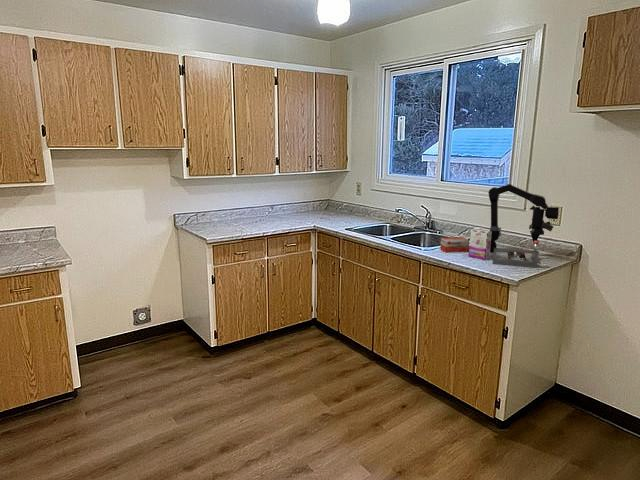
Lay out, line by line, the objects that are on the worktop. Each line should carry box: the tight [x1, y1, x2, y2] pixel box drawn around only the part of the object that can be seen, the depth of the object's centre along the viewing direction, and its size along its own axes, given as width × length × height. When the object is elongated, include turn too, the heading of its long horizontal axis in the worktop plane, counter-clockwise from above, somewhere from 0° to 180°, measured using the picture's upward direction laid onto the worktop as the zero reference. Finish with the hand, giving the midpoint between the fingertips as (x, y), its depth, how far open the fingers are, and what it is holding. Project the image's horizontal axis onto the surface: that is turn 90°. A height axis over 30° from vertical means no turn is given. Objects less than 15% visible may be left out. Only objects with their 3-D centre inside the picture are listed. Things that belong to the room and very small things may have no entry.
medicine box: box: [439, 236, 470, 254], centre depth 263 cm, size 15×8×8 cm, turn 98°
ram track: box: [529, 255, 541, 264], centre depth 243 cm, size 4×14×1 cm, turn 159°
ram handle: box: [530, 239, 540, 258], centre depth 244 cm, size 3×3×10 cm
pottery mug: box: [506, 247, 527, 261], centre depth 242 cm, size 12×10×8 cm
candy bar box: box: [468, 228, 492, 261], centre depth 246 cm, size 11×5×16 cm, turn 40°
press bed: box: [492, 247, 539, 269], centre depth 233 cm, size 22×6×9 cm, turn 69°
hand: (534, 243), depth 249 cm, fingers closed
